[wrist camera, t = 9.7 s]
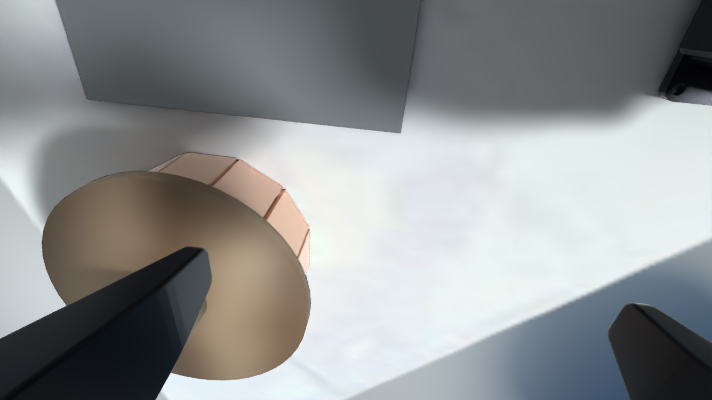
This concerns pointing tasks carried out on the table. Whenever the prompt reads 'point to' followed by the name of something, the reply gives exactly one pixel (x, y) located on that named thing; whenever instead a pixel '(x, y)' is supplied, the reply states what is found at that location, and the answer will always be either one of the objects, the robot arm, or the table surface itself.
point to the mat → (250, 57)
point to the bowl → (247, 194)
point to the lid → (171, 233)
